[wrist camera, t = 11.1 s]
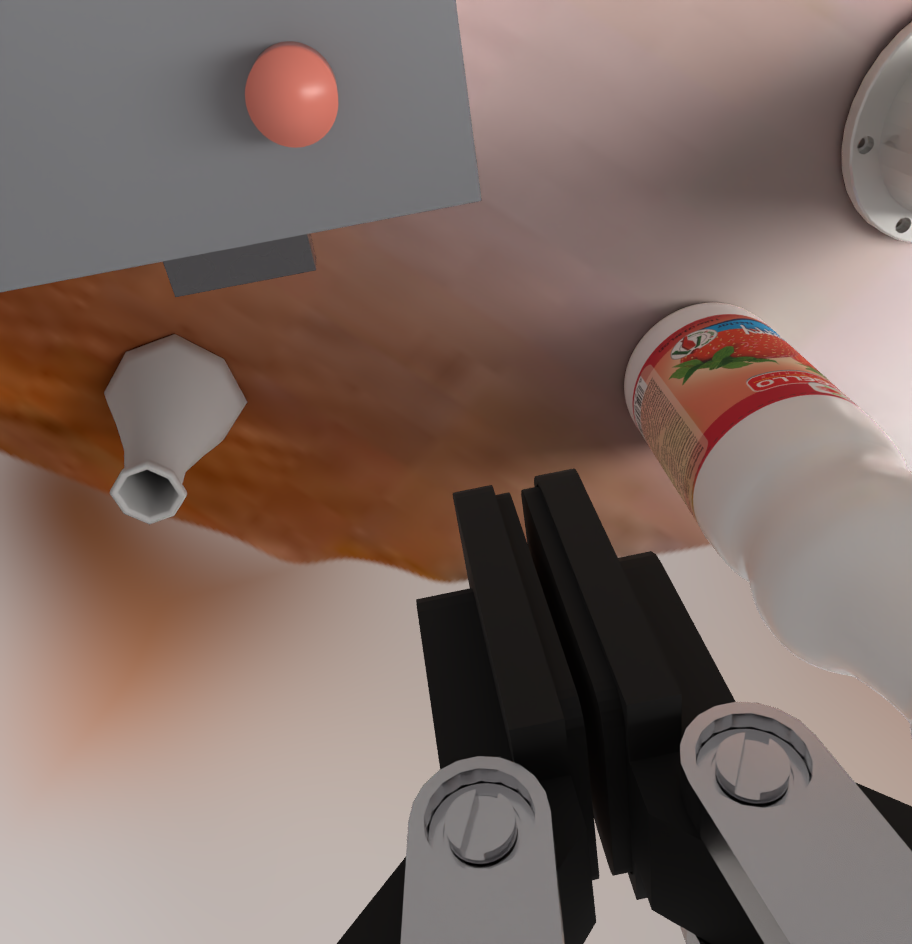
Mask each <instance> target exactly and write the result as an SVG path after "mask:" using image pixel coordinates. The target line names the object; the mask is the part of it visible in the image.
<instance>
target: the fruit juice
mask: <svg viewBox="0 0 912 944" xmlns="http://www.w3.org/2000/svg"><path fill="white" fill-rule="evenodd" d="M624 393H625V400H626V404H627V407H628V410H629V413H630V415H631V418H632V420H633V421H634V423H635V425H636V426H637V428H638V429H639V431H640V433H641V434H642V436H643V437H644V439H645V441H646V442H647V444H648V445H649V447H650V449H651V450H652V452H653V453H654V455H655V456H656V458H657V460H658V461H659V463H660V464H661V466H662V468H663V469H664V471H665V472H666V474H667V475H668V477H669V479H670V480H671V482H672V483H673V485H674V487H675V488H676V490H677V491H678V493H679V494H680V496H681V498H682V499H683V501H684V502H685V504H686V505H687V507H688V509H689V510H690V512H691V513H692V515H693V517H694V518H695V520H696V521H697V523H698V525H699V527H700V528H701V530H702V532H703V533H704V535H705V537H706V538H707V539H708V541H709V542H710V544H711V545H712V546H713V548H714V549H715V550H716V552H717V553H718V554H719V555H720V557H721V558H722V559H723V560H724V561H725V563H726V564H727V565H728V566H729V567H730V568H731V569H732V570H733V571H734V572H735V573H737V574H738V575H739V576H741V577H742V578H743V579H745V580H747V581H748V582H749V583H750V588H751V592H752V596H753V599H754V602H755V605H756V608H757V610H758V612H759V614H760V616H761V618H762V620H763V622H764V623H765V624H766V626H767V627H768V628H769V630H770V631H771V632H772V634H773V635H774V636H775V638H776V639H777V640H778V641H779V642H780V643H781V644H782V645H783V646H784V647H785V648H786V649H787V650H789V651H790V652H791V653H792V654H794V655H795V656H797V657H798V658H800V659H801V660H803V661H805V662H807V663H809V664H811V665H813V666H816V667H818V668H821V669H824V670H827V671H830V672H834V673H838V674H844V675H849V676H853V677H855V678H857V679H858V680H860V681H862V682H863V683H865V684H866V685H867V686H869V687H870V688H872V689H873V690H874V691H876V692H877V693H878V694H880V695H881V696H882V697H884V698H885V699H886V700H887V701H889V702H890V703H891V704H892V705H893V706H894V707H895V708H896V709H897V710H898V711H900V713H901V714H902V715H903V716H904V717H905V718H906V719H907V720H908V721H909V723H910V733H911V737H912V472H911V471H909V469H908V466H907V463H906V461H905V459H904V457H903V455H902V453H901V452H900V450H899V449H898V447H897V446H896V445H895V443H894V442H893V441H892V440H891V438H890V437H889V436H888V435H887V434H886V433H885V432H884V431H883V429H882V428H881V427H880V426H879V425H878V424H877V423H876V422H875V421H874V420H873V419H872V418H871V417H870V416H869V415H868V414H867V413H865V412H864V411H863V410H862V409H861V408H859V407H858V406H857V405H856V404H855V403H853V402H852V401H851V400H850V399H849V398H848V397H847V396H846V395H845V394H843V393H842V392H841V391H840V390H839V389H838V388H837V387H836V386H835V385H833V384H832V383H831V382H830V381H829V380H828V379H827V378H826V377H825V376H823V375H822V374H821V373H820V372H819V371H818V370H817V369H816V368H815V367H813V366H812V365H811V364H810V363H809V362H808V361H807V360H806V359H805V358H804V357H802V356H801V355H800V354H799V353H798V352H797V351H796V350H795V349H794V348H792V347H791V346H790V345H789V344H788V343H787V342H786V341H785V340H784V339H782V338H781V337H780V336H779V335H778V334H777V333H776V332H775V331H774V330H772V329H771V328H770V327H769V326H768V325H767V324H766V323H765V322H763V321H762V320H761V319H760V318H759V317H757V316H756V315H754V314H752V313H750V312H749V311H747V310H745V309H743V308H740V307H738V306H734V305H730V304H725V303H701V304H696V305H692V306H688V307H685V308H683V309H680V310H678V311H676V312H674V313H672V314H670V315H668V316H667V317H665V318H663V319H662V320H661V321H659V322H658V323H657V324H655V325H654V326H653V327H652V328H651V329H650V330H649V331H648V332H647V333H646V334H645V335H644V336H643V338H642V339H641V340H640V342H639V343H638V345H637V346H636V348H635V349H634V351H633V353H632V355H631V357H630V360H629V362H628V365H627V369H626V373H625V380H624Z"/></svg>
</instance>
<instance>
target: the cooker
mask: <svg viewBox="0 0 912 944" xmlns="http://www.w3.org/2000/svg"><path fill="white" fill-rule="evenodd" d="M163 263H164V266H165V269H166V272H167V275H168V278H169V280H170V283H171V286H172V289H173V292H174V294H175V297H179V296H184V295H189V294H194V293H200V292H205V291H210V290H215V289H220V288H226V287H231V286H236V285H241V284H247V283H252V282H257V281H262V280H267V279H273V278H278V277H283V276H288V275H293V274H299V273H304V272H309V271H314V270H316V255H315V251H314V247H313V243H312V239H311V235H310V234H305V235H299V236H294V237H289V238H284V239H278V240H273V241H268V242H262V243H257V244H252V245H247V246H241V247H236V248H231V249H226V250H220V251H215V252H210V253H205V254H199V255H194V256H189V257H184V258H178V259H173V260H168V261H163Z"/></svg>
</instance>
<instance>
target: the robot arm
mask: <svg viewBox="0 0 912 944" xmlns="http://www.w3.org/2000/svg"><path fill="white" fill-rule="evenodd" d="M859 141H860V143H859ZM858 143H859V144H858ZM841 152H842V174H843V178H844V182H845V186H846V190H847V193H848V195H849V197H850V199H851V201H852V203H853V205H854V207H855V209H856V210H857V211H858V212H859V214H860V215H861V216H862V217H863V218H864V219H865V221H866V222H867V223H869V224H870V225H872V226H873V227H875V228H876V229H878V230H879V231H881V232H882V233H884V234H886V235H888V236H890V237H892V238H894V239H897V240H900V241H905V242H909V243H912V22H911V23H909V24H908V25H907V26H906V27H905V28H903V29H902V30H901V31H900V32H899V33H898V34H897V35H896V36H895V37H894V39H893V40H892V41H891V42H890V43H889V44H888V45H887V46H886V48H885V49H884V50H883V51H882V52H881V53H880V55H879V56H878V58H877V59H876V61H875V62H874V64H873V65H872V67H871V68H870V70H869V71H868V73H867V74H866V76H865V77H864V79H863V81H862V83H861V85H860V87H859V90H858V92H857V94H856V96H855V98H854V100H853V102H852V105H851V108H850V112H849V115H848V118H847V121H846V124H845V129H844V136H843V143H842V150H841ZM534 486H535V487H534V488H529V489H524V490H522V491H521V496H522V504H523V512H524V520H525V528H526V535H527V542H526V539H525V536H524V533H523V530H522V527H521V524H520V521H519V518H518V515H517V512H516V509H515V506H514V503H513V500H512V497H511V495H510V493H504V494H499V495H495V492H494V489H493V486H492V485H490V486H485V487H480V488H475V489H470V490H465V491H460V492H455V493H453V499H454V505H455V510H456V516H457V521H458V526H459V532H460V537H461V543H462V548H463V553H464V559H465V564H466V570H467V575H468V580H469V586H470V589H465V590H461V591H456V592H451V593H446V594H441V595H436V596H431V597H426V598H422V599H417V600H416V602H417V611H418V618H419V625H420V632H421V639H422V645H423V652H424V659H425V666H426V673H427V680H428V687H429V694H430V701H431V708H432V714H433V722H434V729H435V736H436V743H437V750H438V756H439V763H440V770H439V771H438V772H437V773H436V774H435V775H433V776H432V777H431V778H430V779H429V780H428V781H427V782H426V783H425V784H424V785H423V787H422V788H421V790H420V791H419V793H418V795H417V797H416V798H415V800H414V802H413V805H412V809H411V813H410V817H409V822H408V836H407V853H406V857H405V858H404V860H403V861H402V862H401V863H400V865H399V866H398V867H397V868H396V870H395V871H394V872H393V873H392V875H391V876H390V877H389V878H388V880H387V881H386V882H385V884H384V885H383V886H382V887H381V889H380V890H379V891H378V892H377V894H376V895H375V896H374V897H373V899H372V900H371V901H370V902H369V904H368V905H367V906H366V907H365V909H364V910H363V911H362V913H361V914H360V915H359V916H358V918H357V919H356V920H355V921H354V923H353V924H352V925H351V926H350V928H349V929H348V930H347V931H346V933H345V934H344V935H343V937H342V938H341V939H340V940H339V942H338V943H337V944H583V943H584V942H585V940H586V938H587V937H588V935H589V933H590V932H591V930H592V928H593V926H594V925H595V923H596V915H595V906H594V896H593V886H592V880H595V879H599V868H598V859H597V847H596V837H595V826H594V819H595V823H596V826H597V830H598V833H599V836H600V839H601V842H602V846H603V849H604V852H605V856H606V859H607V862H608V865H609V868H610V870H611V873H612V875H618V874H623V873H628V875H629V878H630V881H631V884H632V887H633V890H634V893H635V896H636V899H637V900H639V899H643V898H648V900H649V903H650V906H651V909H652V910H653V911H655V912H657V913H658V914H660V915H662V916H664V917H665V918H667V919H669V920H670V921H672V922H674V923H676V924H677V925H679V926H680V927H681V930H682V933H683V936H684V939H685V942H686V944H912V807H911V806H909V805H907V804H904V803H902V802H900V801H898V800H895V799H893V798H891V797H888V796H886V795H884V794H881V793H879V792H876V791H874V790H871V789H869V788H867V787H865V786H862V785H860V784H858V783H855V782H854V781H853V780H852V778H851V777H850V776H849V775H848V774H847V772H846V771H845V770H844V769H843V768H842V766H841V765H840V764H839V763H838V761H837V760H836V759H835V758H834V757H833V755H832V754H831V753H830V752H829V751H828V750H827V748H826V747H825V746H824V744H823V743H822V742H821V741H820V740H819V738H818V737H817V736H816V735H815V734H814V733H813V732H812V731H811V730H810V729H809V728H808V727H806V726H805V725H804V724H803V723H802V722H801V721H800V720H799V719H797V718H795V717H793V716H791V715H789V714H788V713H785V712H784V711H782V710H780V709H778V708H774V707H771V706H767V705H763V704H760V703H750V702H735V700H734V698H733V696H732V694H731V692H730V690H729V689H728V687H727V685H726V683H725V682H724V679H723V677H722V676H721V674H720V672H719V670H718V668H717V666H716V664H715V662H714V661H713V659H712V657H711V655H710V653H709V651H708V650H707V647H706V646H705V644H704V642H703V640H702V638H701V636H700V634H699V633H698V631H697V629H696V627H695V625H694V623H693V621H692V620H691V618H690V616H689V614H688V612H687V610H686V608H685V606H684V604H683V603H682V601H681V599H680V597H679V595H678V593H677V591H676V589H675V588H674V586H673V584H672V582H671V580H670V578H669V576H668V575H667V573H666V571H665V569H664V567H663V565H662V563H661V562H660V560H659V559H658V557H657V555H656V554H655V553H653V552H652V551H650V552H645V553H640V554H636V555H631V556H626V557H621V558H617V555H616V553H615V551H614V549H613V547H612V545H611V543H610V541H609V538H608V536H607V534H606V532H605V530H604V528H603V526H602V524H601V521H600V519H599V517H598V515H597V513H596V511H595V509H594V507H593V504H592V502H591V500H590V498H589V496H588V494H587V492H586V490H585V487H584V485H583V483H582V481H581V479H580V477H579V475H578V473H577V471H576V470H575V469H569V470H564V471H559V472H554V473H549V474H544V475H539V476H535V478H534ZM527 543H528V545H527Z"/></svg>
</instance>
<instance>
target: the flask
mask: <svg viewBox="0 0 912 944" xmlns="http://www.w3.org/2000/svg"><path fill="white" fill-rule="evenodd" d="M104 394H105V397H106V400H107V403H108V405H109V408H110V410H111V413H112V415H113V418H114V420H115V423H116V426H117V429H118V432H119V435H120V438H121V441H122V444H123V447H124V469H123V470H122V471H121V473H120V474H119V476H118V478H117V480H116V481H115V483H114V485H113V487H112V488H111V490H110V495H111V496H112V497H113V499H114V500H115V501H116V503H117V504H118V506H119V507H120V509H121V510H122V512H123V513H124V514H126V515H128V516H131V517H133V518H136V519H138V520H140V521H143V522H145V523H148V524H152V523H155V522H158V521H160V520H163V519H166V518H169V517H172V516H174V515H175V514H176V512H177V510H178V509H179V507H180V506H181V504H182V502H183V501H184V499H185V498H186V495H187V491H186V489H185V488H184V486H183V485H182V483H183V479H184V476H185V472H186V471H187V470H188V469H190V468H191V467H192V466H193V465H194V464H195V463H196V462H197V461H198V460H199V459H201V458H202V457H203V456H204V455H205V454H207V453H208V452H209V451H210V450H212V449H213V448H214V447H216V446H217V445H218V444H219V443H220V442H222V441H223V440H224V439H225V437H226V435H227V434H228V432H229V430H230V429H231V427H232V426H233V424H234V422H235V421H236V419H237V418H238V416H239V414H240V413H241V411H242V410H243V408H244V406H245V405H246V403H247V401H246V399H245V397H244V395H243V393H242V391H241V389H240V388H239V386H238V384H237V382H236V380H235V378H234V377H233V375H232V373H231V371H230V369H229V367H228V365H227V364H226V362H225V360H224V359H223V358H221V357H219V356H217V355H215V354H213V353H211V352H209V351H207V350H205V349H203V348H201V347H199V346H197V345H195V344H193V343H191V342H190V341H188V340H186V339H184V338H182V337H180V336H178V335H176V334H173V335H171V336H168V337H165V338H163V339H160V340H157V341H155V342H152V343H149V344H146V345H144V346H141V347H138V348H136V349H133V350H130V351H127V352H126V353H125V355H124V356H123V358H122V360H121V362H120V364H119V366H118V368H117V370H116V371H115V373H114V375H113V377H112V379H111V381H110V383H109V384H108V386H107V388H106V390H105V392H104Z"/></svg>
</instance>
